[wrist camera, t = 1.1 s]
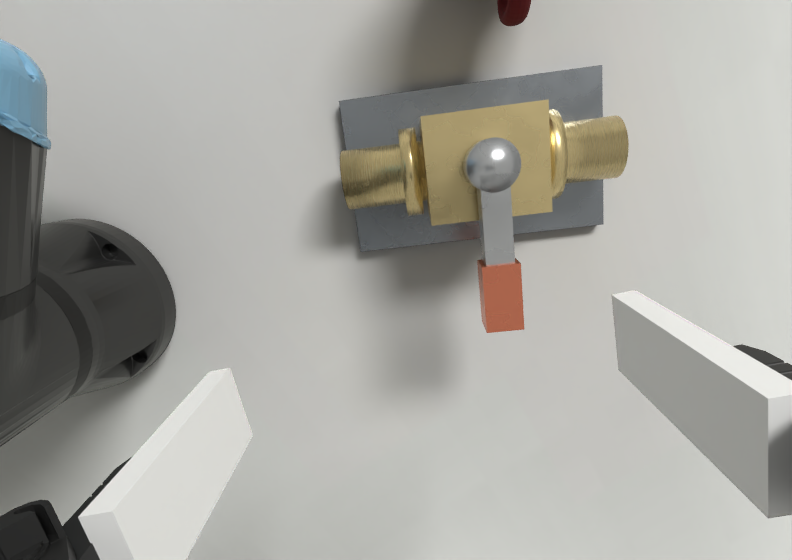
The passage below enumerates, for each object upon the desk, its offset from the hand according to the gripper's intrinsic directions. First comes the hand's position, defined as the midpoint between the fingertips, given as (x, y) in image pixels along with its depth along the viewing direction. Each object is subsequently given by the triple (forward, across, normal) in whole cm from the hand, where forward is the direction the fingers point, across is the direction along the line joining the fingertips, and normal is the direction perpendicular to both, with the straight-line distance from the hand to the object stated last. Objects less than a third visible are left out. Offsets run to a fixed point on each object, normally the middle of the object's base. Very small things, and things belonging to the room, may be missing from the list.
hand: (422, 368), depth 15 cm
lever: (+16, +6, +1) cm, 17 cm away
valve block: (+24, +6, +5) cm, 26 cm away
